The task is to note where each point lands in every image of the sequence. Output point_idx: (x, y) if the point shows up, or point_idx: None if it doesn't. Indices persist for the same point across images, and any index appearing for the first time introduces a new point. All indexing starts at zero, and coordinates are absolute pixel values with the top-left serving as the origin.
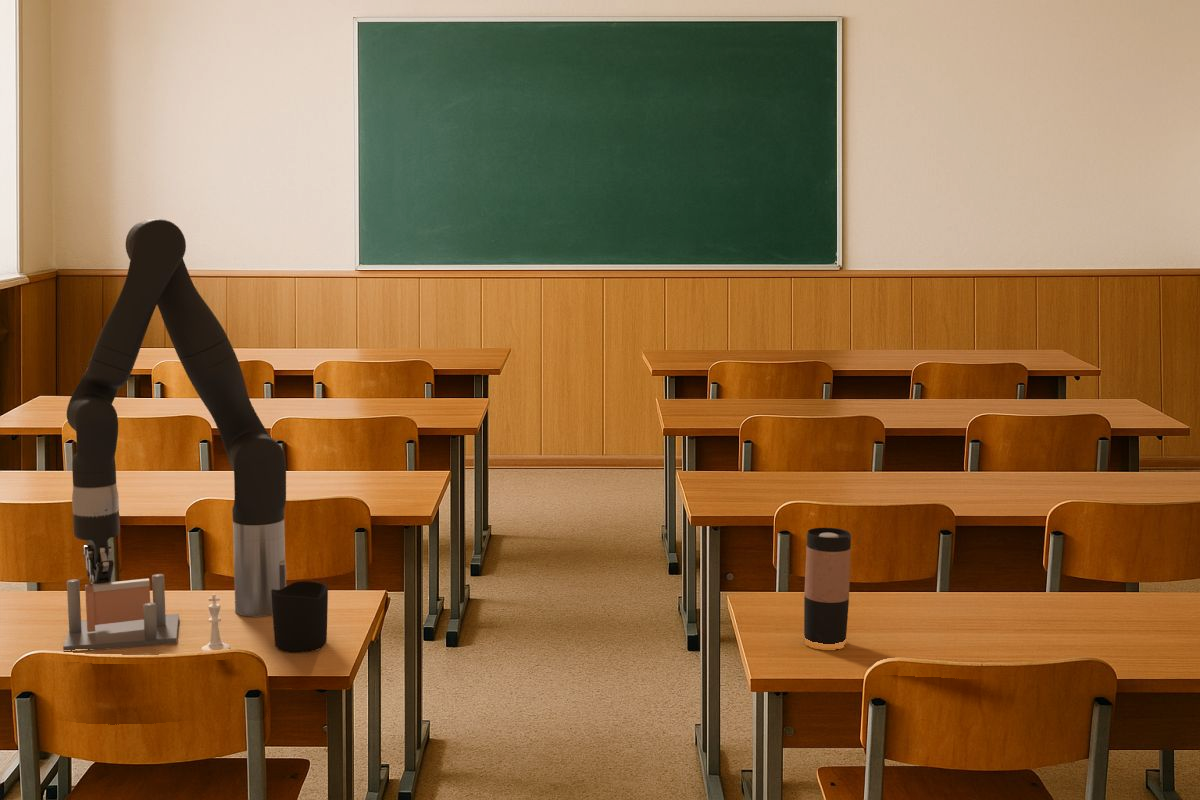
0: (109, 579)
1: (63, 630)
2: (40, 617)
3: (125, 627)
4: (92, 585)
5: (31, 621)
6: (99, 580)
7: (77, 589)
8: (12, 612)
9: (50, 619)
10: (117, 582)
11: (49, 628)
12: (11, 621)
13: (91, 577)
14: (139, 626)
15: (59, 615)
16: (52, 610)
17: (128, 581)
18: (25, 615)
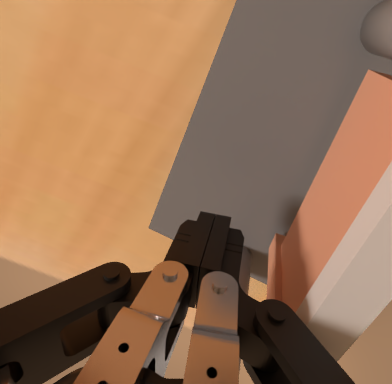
0: (317, 346)
1: (169, 242)
2: (53, 235)
3: (307, 149)
4: None
5: (74, 256)
6: (278, 364)
7: None
8: (4, 254)
9: (75, 228)
10: (348, 306)
11: (139, 254)
12: (60, 277)
13: (175, 341)
14: (334, 106)
15: (52, 204)
16: (10, 200)
17: (387, 260)
18: (30, 248)
